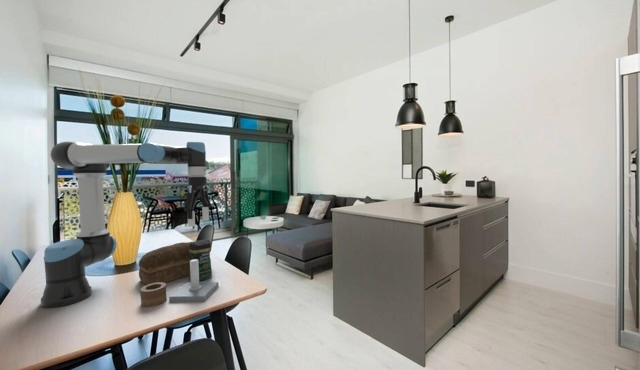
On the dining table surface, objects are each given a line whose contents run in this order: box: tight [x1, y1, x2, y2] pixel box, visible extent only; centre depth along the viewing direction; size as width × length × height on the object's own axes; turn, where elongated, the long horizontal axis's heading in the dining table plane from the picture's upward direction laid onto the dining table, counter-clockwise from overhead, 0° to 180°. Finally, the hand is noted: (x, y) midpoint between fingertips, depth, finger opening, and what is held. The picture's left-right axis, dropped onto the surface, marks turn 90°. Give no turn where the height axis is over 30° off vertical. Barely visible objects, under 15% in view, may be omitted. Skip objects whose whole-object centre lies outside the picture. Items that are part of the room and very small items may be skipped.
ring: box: [140, 282, 168, 308], centre depth 105 cm, size 8×8×6 cm
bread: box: [138, 241, 212, 286], centre depth 134 cm, size 15×32×16 cm, turn 141°
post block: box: [168, 259, 219, 303], centre depth 112 cm, size 14×14×14 cm
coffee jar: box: [189, 238, 213, 282], centre depth 128 cm, size 10×8×19 cm
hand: (199, 223), depth 120 cm, fingers open, 13 cm apart
